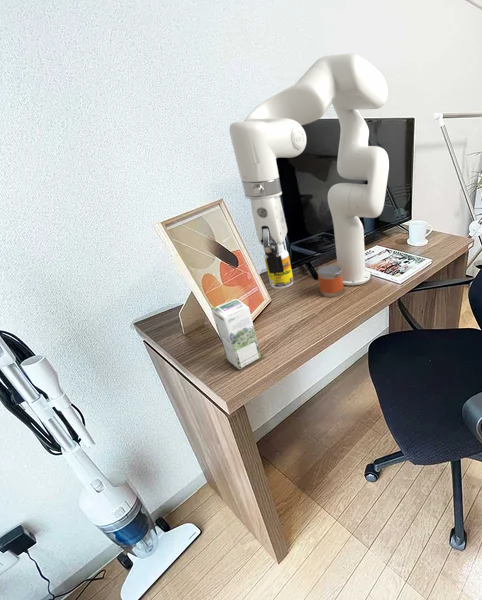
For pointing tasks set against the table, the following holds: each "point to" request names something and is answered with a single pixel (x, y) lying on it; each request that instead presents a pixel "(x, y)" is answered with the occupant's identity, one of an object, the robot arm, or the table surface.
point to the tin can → (330, 280)
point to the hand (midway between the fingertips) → (278, 265)
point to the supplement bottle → (286, 276)
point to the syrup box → (236, 333)
